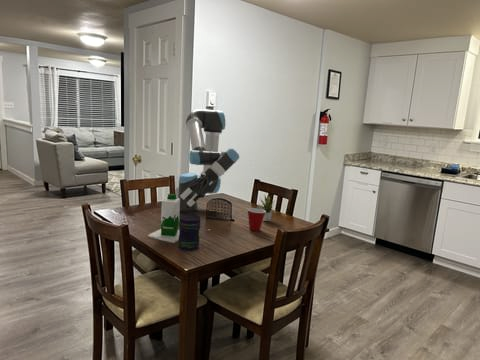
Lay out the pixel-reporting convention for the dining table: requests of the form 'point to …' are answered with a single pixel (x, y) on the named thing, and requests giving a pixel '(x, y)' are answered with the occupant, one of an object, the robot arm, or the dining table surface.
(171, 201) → the soya milk
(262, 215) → the plastic cup
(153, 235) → the plate
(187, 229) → the storage jar
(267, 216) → the house plant
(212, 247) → the dining table surface
